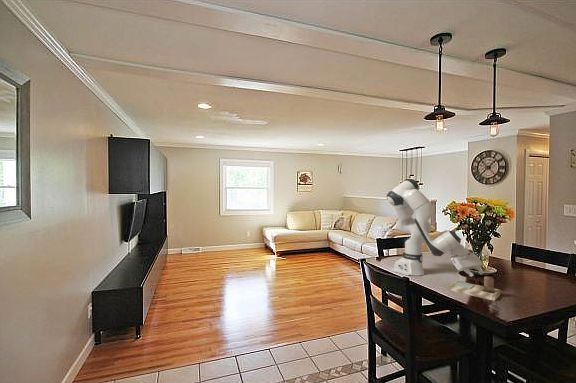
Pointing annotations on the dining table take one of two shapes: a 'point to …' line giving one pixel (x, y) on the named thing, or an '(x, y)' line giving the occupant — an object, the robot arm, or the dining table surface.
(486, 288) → the wooden cylinder
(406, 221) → the robot arm
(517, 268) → the dining table surface
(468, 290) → the puzzle board
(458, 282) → the felt pad
